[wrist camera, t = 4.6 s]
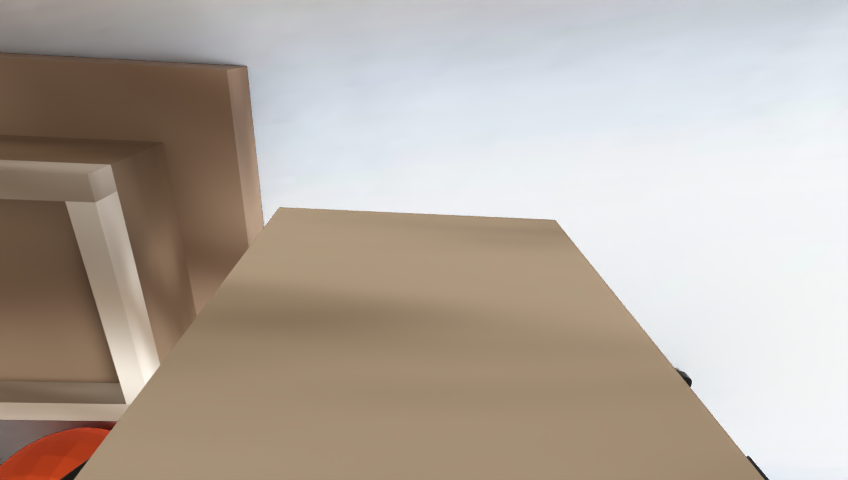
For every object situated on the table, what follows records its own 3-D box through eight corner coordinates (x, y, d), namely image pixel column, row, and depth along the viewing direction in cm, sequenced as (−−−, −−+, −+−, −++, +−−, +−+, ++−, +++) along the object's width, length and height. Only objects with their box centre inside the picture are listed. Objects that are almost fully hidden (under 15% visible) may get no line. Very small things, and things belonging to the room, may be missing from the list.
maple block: (514, 419, 10) (638, 860, 5) (296, 415, 10) (159, 878, 4) (555, 219, 8) (858, 594, 3) (279, 207, 8) (-16, 597, 2)
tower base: (278, 364, 22) (235, 471, 17) (-14, 358, 21) (-158, 468, 16) (246, 66, 16) (165, 80, 11) (-156, 44, 16) (-460, 47, 10)
